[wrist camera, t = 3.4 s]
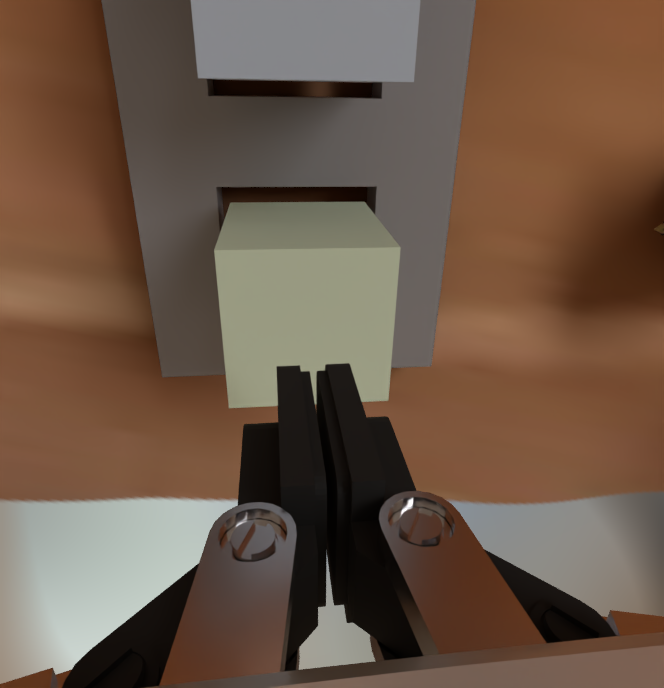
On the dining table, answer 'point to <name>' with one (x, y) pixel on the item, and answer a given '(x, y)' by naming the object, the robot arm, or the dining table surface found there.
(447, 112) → the board
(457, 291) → the dining table surface
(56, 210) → the dining table surface
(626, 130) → the dining table surface
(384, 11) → the slate block
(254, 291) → the sage block
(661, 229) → the game die
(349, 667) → the robot arm
